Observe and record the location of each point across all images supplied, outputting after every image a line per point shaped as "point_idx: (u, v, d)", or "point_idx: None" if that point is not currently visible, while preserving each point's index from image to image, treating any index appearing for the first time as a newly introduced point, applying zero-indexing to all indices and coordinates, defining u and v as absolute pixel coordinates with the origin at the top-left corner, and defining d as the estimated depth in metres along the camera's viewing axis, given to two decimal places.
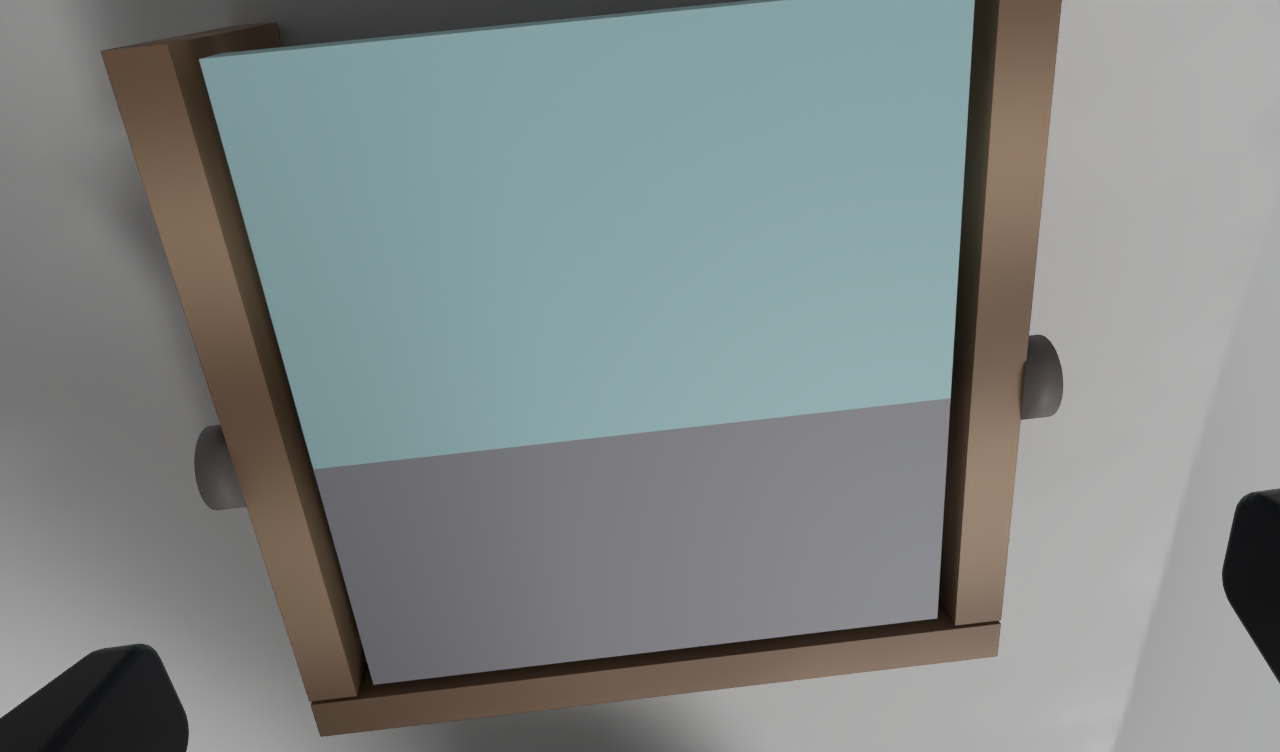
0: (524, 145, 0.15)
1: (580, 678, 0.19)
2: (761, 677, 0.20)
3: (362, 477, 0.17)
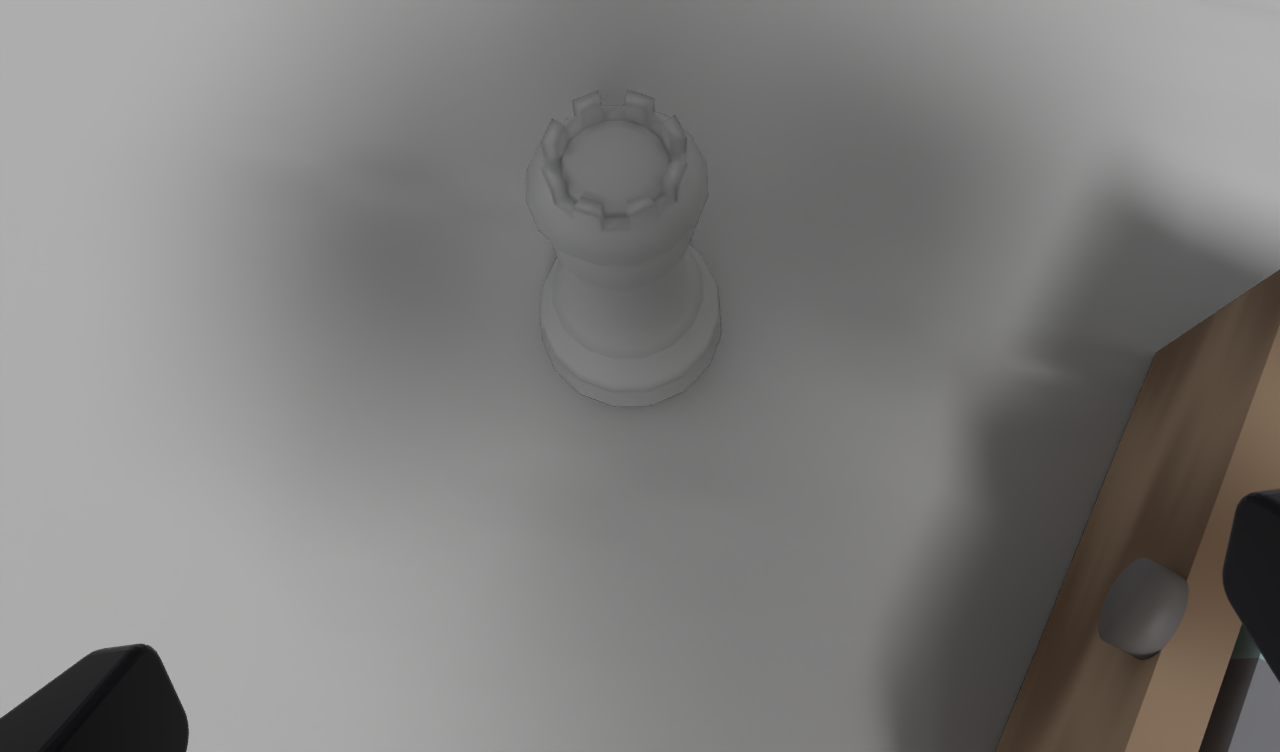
0: None
1: None
2: None
3: None
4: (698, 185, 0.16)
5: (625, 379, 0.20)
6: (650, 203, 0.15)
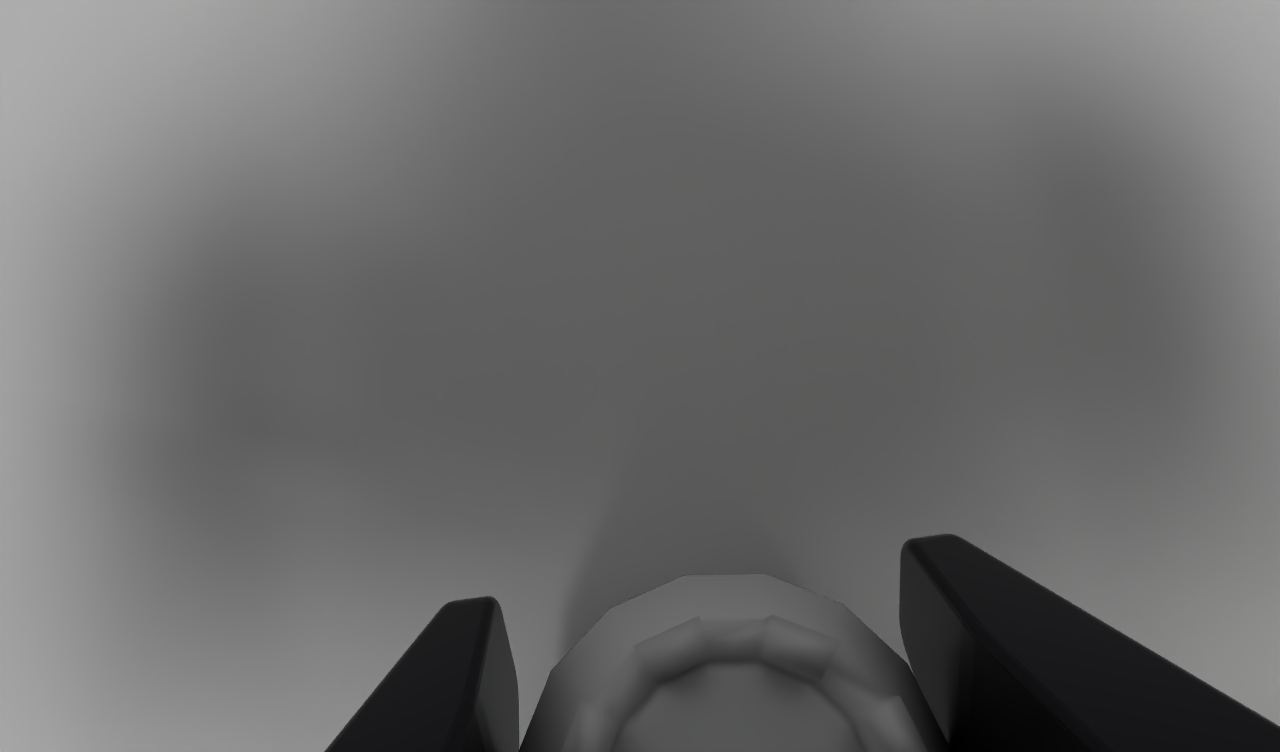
0: None
1: None
2: None
3: None
4: None
5: None
6: None
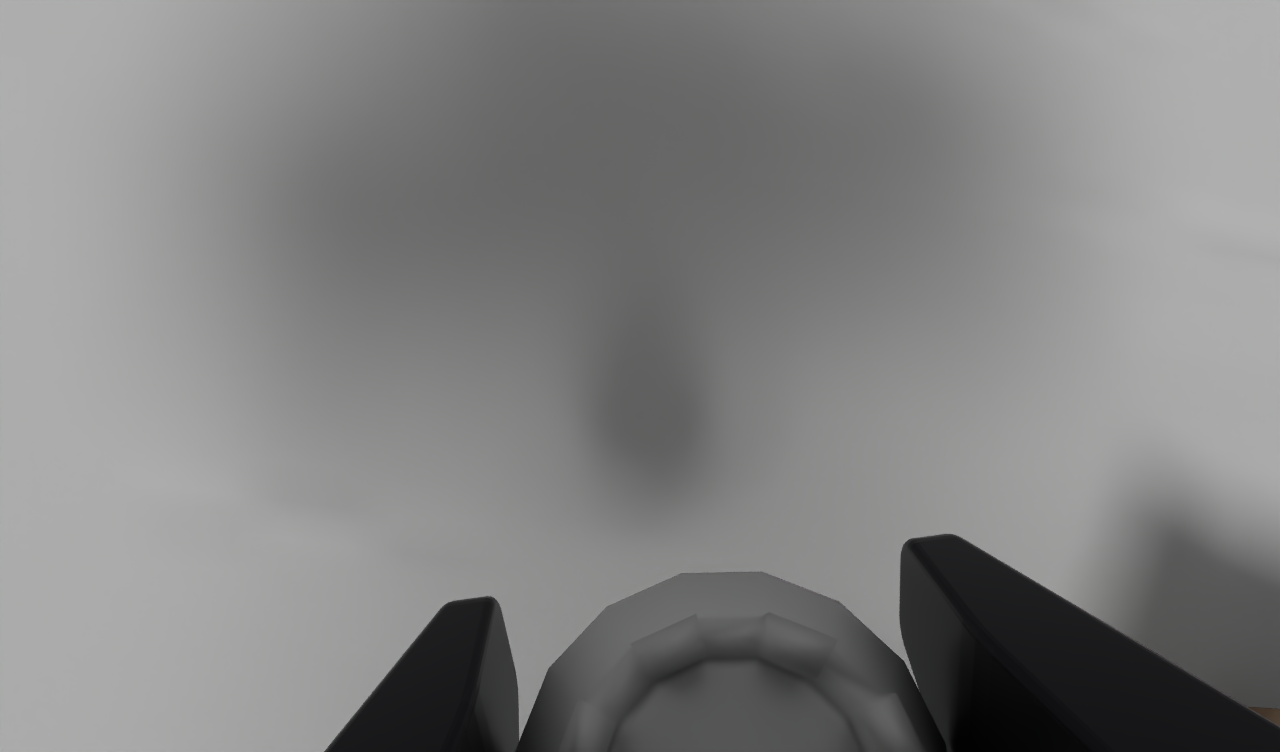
0: None
1: None
2: None
3: None
4: None
5: None
6: None
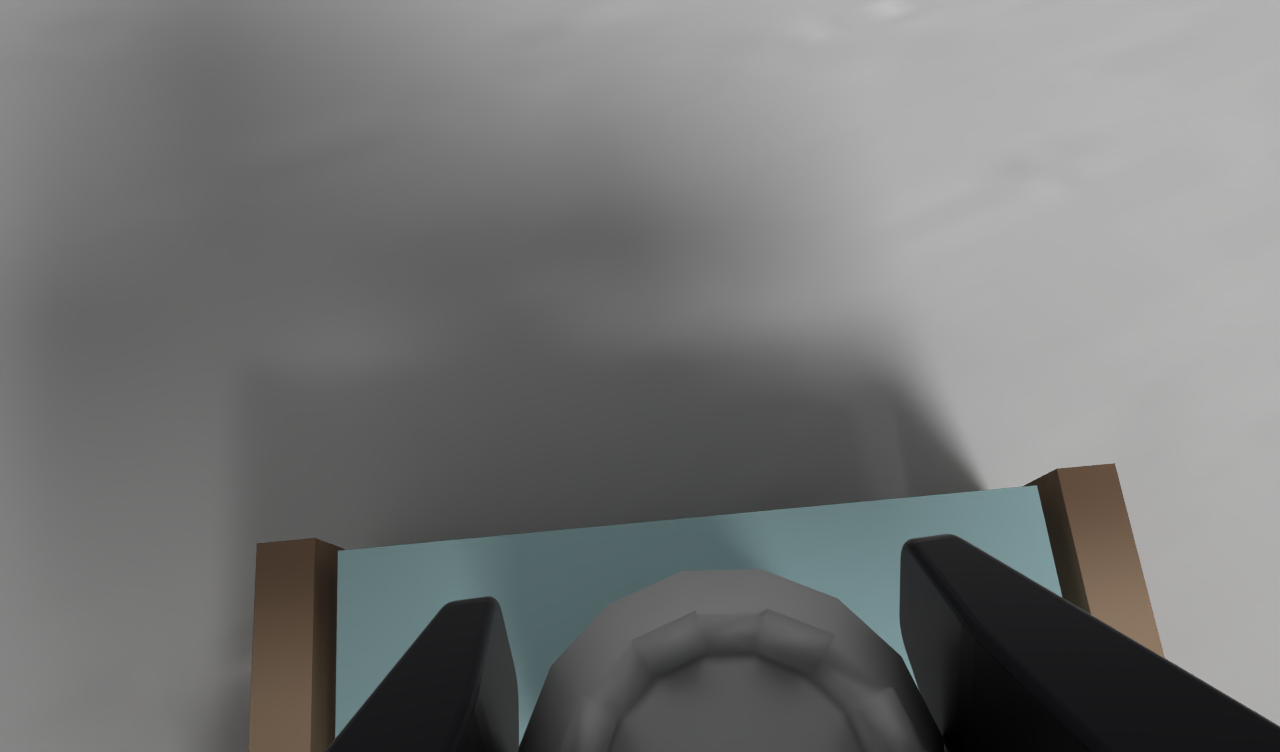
0: None
1: None
2: None
3: None
4: None
5: None
6: None
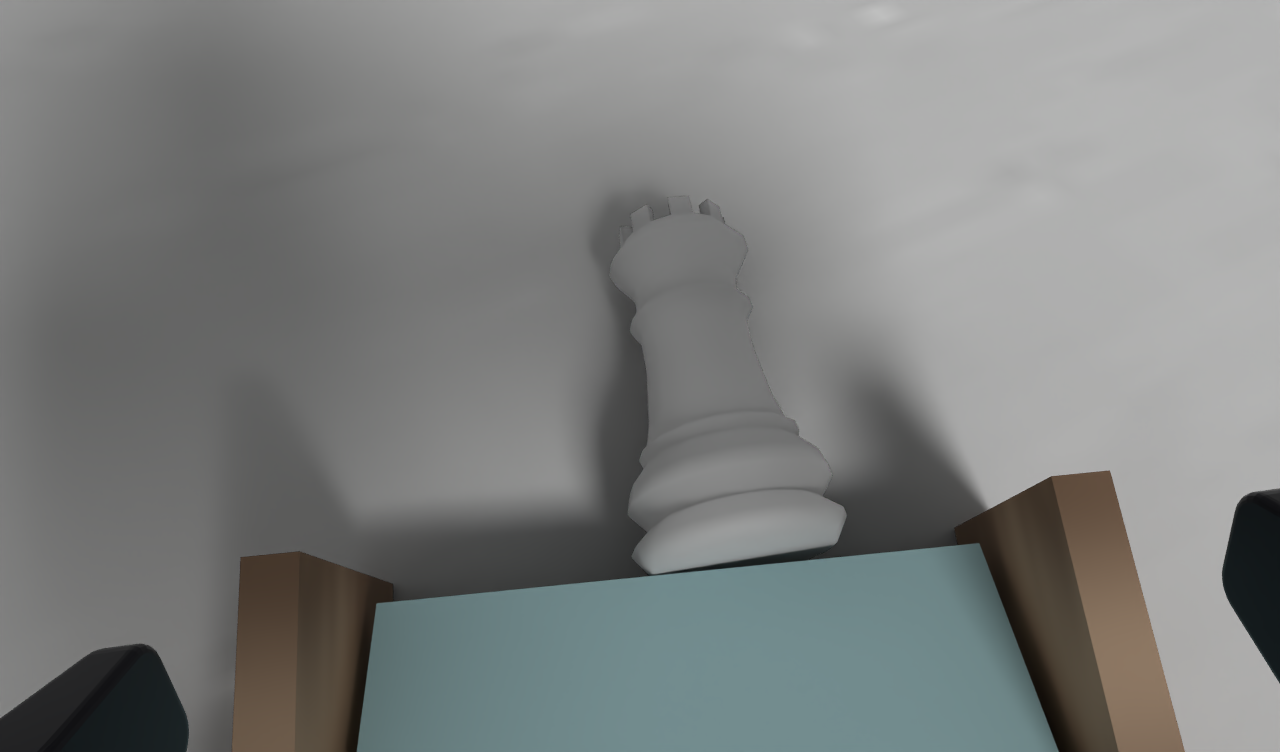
0: (619, 664, 0.17)
1: None
2: None
3: None
4: None
5: (775, 439, 0.17)
6: None
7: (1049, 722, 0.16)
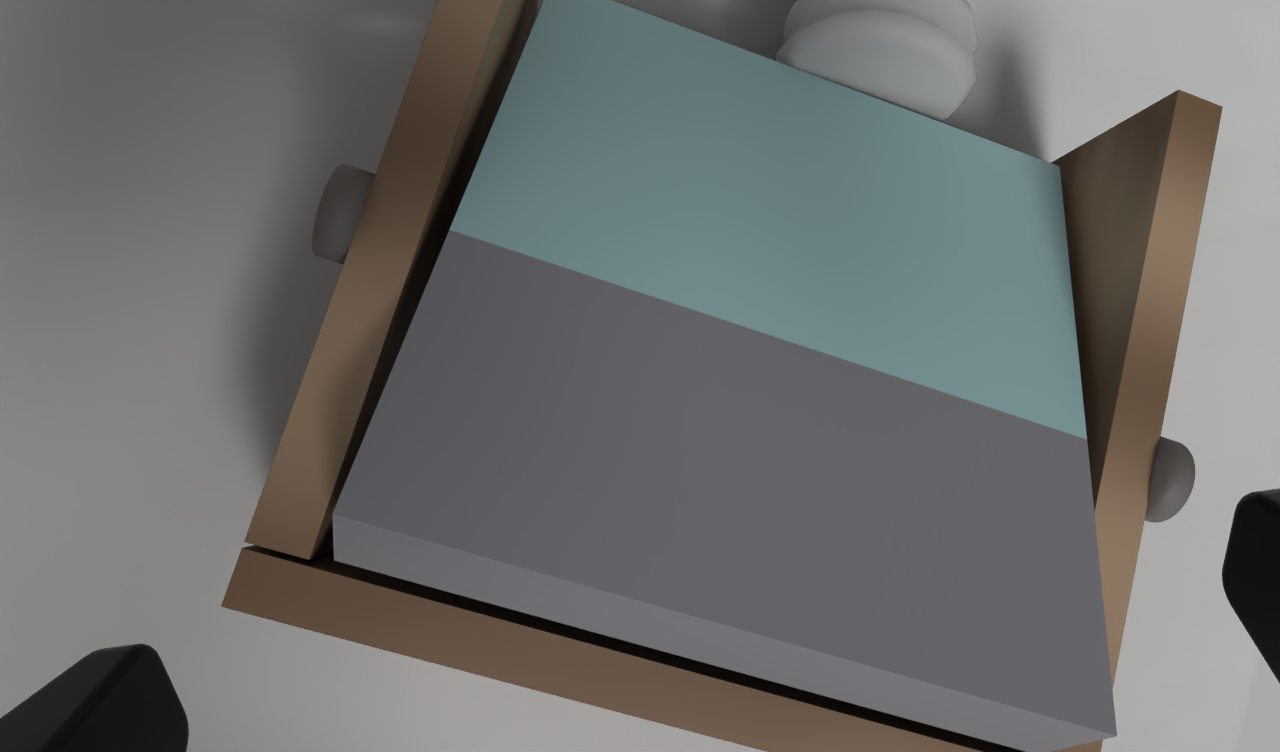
0: (752, 109, 0.19)
1: (595, 655, 0.15)
2: (807, 750, 0.15)
3: (494, 258, 0.15)
4: None
5: None
6: None
7: None
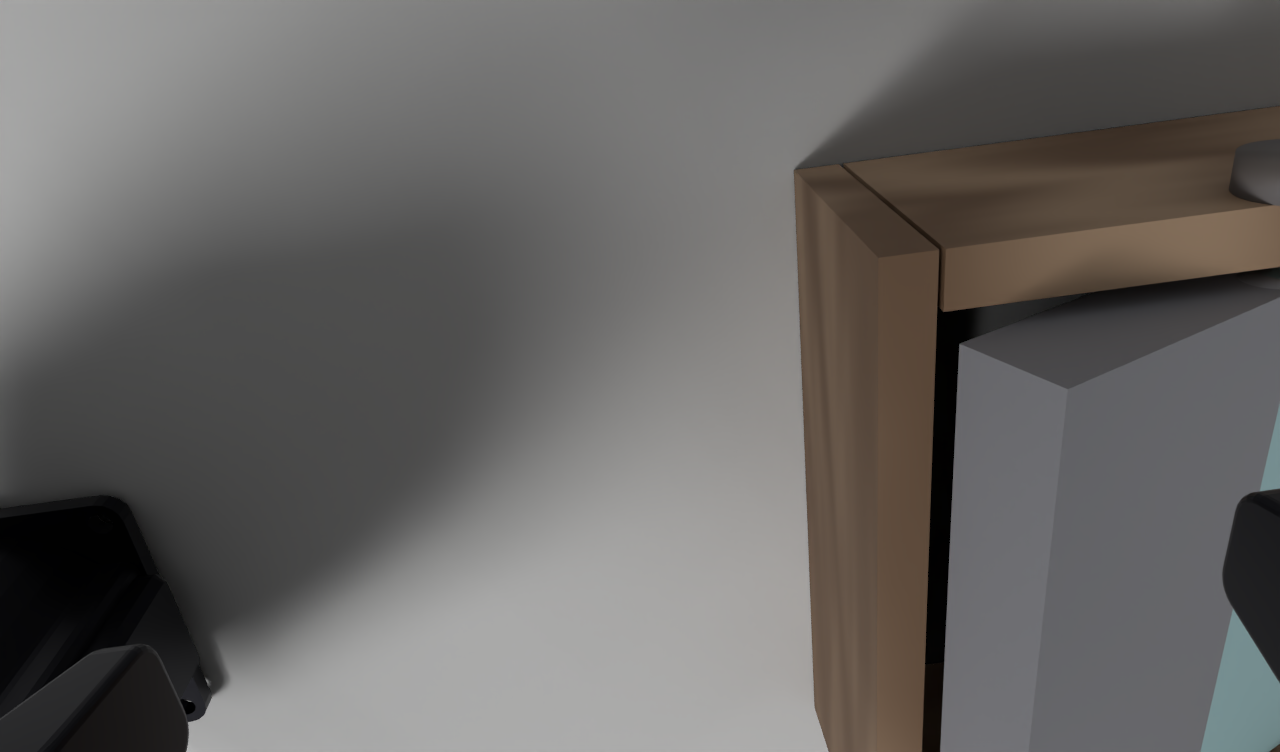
0: None
1: (919, 563, 0.16)
2: (885, 727, 0.17)
3: None
4: None
5: None
6: None
7: None
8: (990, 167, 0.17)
